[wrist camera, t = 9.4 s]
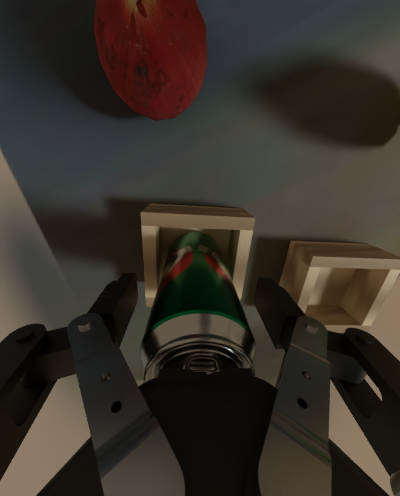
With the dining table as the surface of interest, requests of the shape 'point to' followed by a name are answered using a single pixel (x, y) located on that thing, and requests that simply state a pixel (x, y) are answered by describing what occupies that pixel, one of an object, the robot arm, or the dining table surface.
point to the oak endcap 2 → (339, 281)
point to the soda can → (196, 314)
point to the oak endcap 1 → (194, 220)
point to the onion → (152, 53)
